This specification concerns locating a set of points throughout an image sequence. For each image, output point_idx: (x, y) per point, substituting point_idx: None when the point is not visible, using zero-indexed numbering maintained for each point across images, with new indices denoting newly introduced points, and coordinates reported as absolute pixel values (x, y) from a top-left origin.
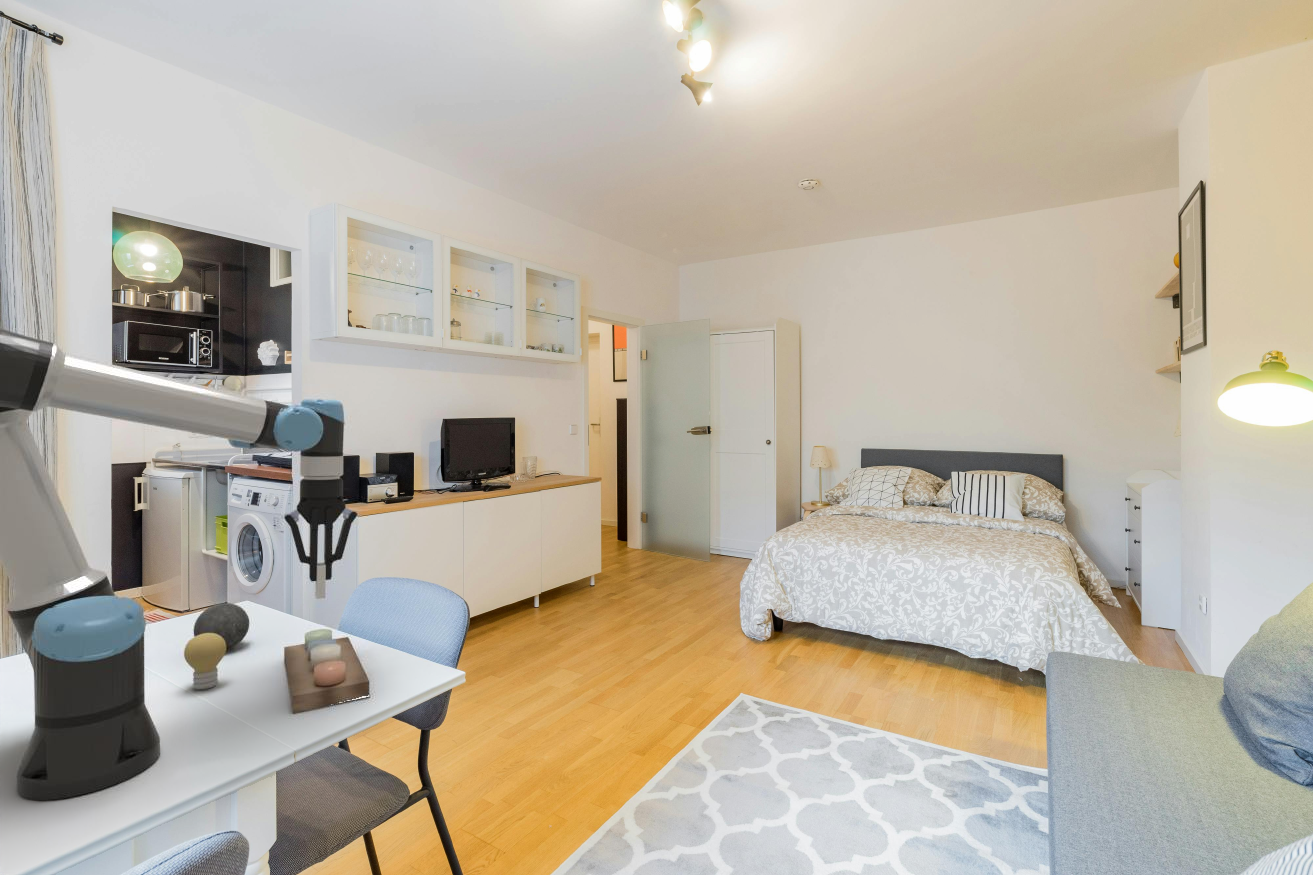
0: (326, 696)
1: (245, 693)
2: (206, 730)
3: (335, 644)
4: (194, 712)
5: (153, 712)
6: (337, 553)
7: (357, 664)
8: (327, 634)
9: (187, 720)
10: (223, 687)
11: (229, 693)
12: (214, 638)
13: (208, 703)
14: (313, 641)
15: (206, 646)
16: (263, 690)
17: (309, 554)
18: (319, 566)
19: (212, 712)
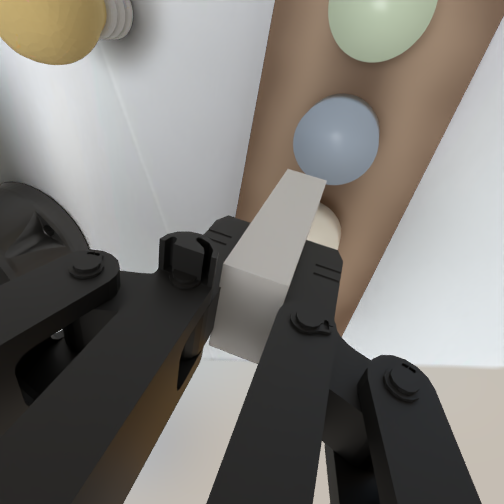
0: None
1: (183, 128)
2: (131, 236)
3: (331, 239)
4: (111, 154)
5: (54, 98)
6: (336, 479)
7: (373, 253)
8: (393, 57)
9: (106, 180)
10: (148, 48)
11: (158, 102)
12: (36, 38)
13: (127, 128)
14: (321, 108)
15: (35, 60)
16: (213, 139)
17: (125, 305)
18: (226, 343)
19: (135, 177)
